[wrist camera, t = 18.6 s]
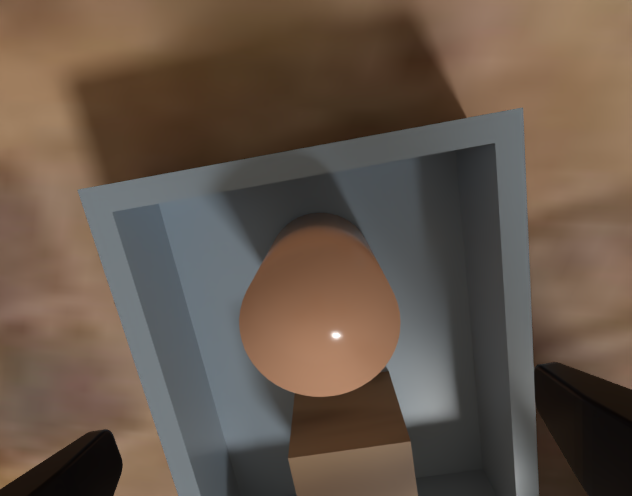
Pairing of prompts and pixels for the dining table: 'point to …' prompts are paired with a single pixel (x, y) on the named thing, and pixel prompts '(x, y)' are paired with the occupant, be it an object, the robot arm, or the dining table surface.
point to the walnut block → (352, 444)
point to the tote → (399, 269)
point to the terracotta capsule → (319, 309)
